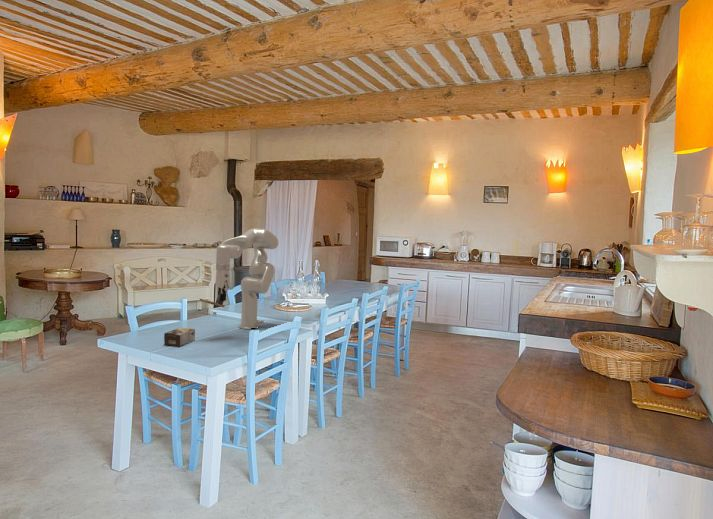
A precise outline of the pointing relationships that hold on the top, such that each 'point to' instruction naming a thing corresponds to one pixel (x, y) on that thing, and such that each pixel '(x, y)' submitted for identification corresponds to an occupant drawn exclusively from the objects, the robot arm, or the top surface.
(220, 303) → the brown l-shaped piece
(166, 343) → the coffee box
